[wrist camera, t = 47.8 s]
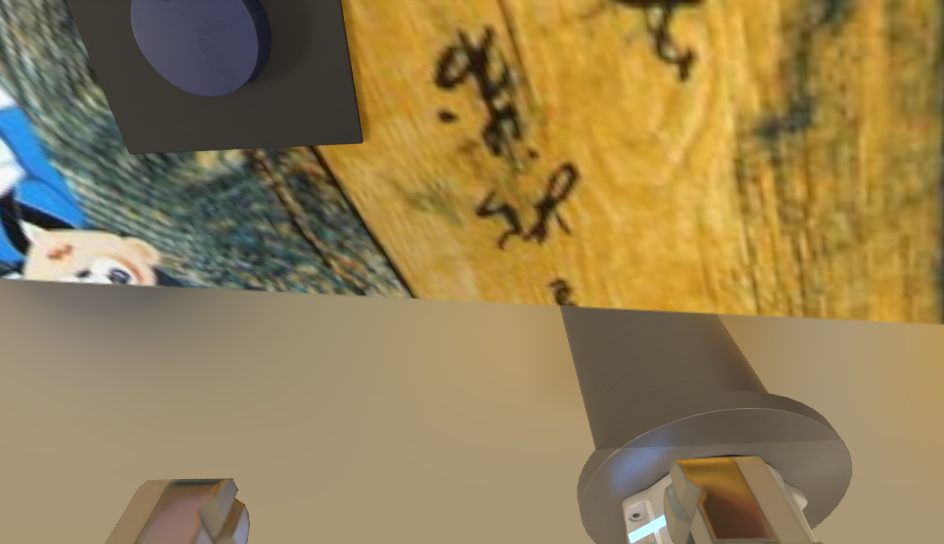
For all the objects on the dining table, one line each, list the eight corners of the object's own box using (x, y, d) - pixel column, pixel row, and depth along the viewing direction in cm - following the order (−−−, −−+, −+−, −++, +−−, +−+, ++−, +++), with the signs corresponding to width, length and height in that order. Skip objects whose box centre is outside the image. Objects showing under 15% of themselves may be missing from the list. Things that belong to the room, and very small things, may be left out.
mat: (363, 141, 32) (362, 143, 32) (132, 152, 32) (129, 154, 32) (315, -157, 24) (314, -158, 24) (13, -140, 24) (7, -141, 24)
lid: (132, -35, 26) (107, -32, 25) (253, -45, 26) (237, -43, 24) (177, 90, 30) (159, 101, 28) (285, 82, 30) (273, 92, 28)
